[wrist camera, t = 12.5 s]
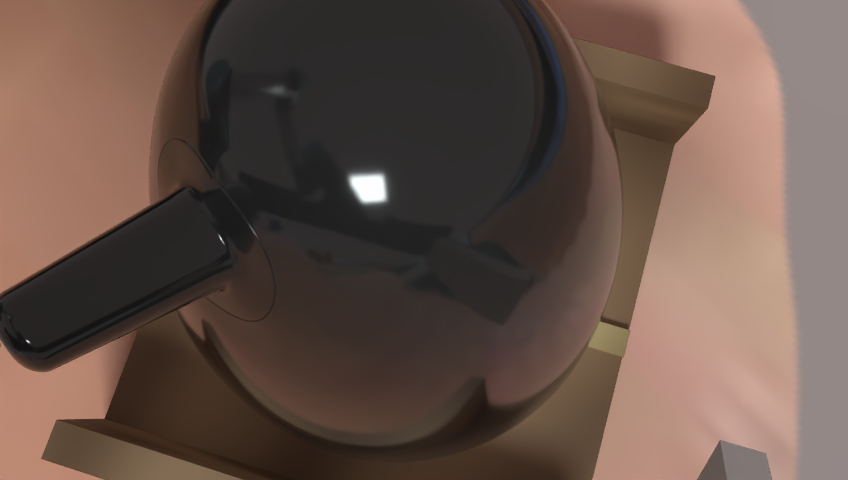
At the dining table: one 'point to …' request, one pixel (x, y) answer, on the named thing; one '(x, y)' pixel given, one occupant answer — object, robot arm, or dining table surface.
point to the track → (447, 476)
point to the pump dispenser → (361, 221)
